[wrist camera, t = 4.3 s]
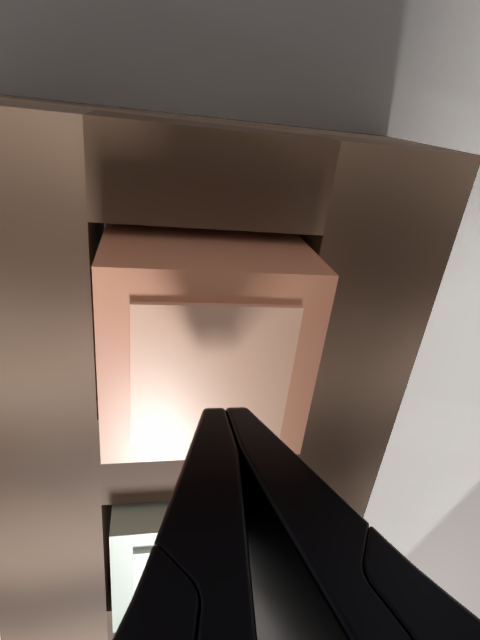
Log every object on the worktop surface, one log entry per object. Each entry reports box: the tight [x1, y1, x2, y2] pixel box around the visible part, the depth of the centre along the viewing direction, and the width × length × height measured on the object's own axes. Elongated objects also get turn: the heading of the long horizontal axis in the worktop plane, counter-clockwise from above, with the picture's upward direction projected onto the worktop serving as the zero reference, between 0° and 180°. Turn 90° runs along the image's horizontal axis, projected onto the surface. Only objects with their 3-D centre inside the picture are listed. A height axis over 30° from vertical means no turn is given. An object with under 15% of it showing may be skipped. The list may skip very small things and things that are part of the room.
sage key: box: [109, 501, 169, 633], centre depth 16 cm, size 5×5×4 cm
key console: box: [0, 95, 480, 640], centre depth 16 cm, size 19×13×5 cm
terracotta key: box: [92, 223, 339, 464], centre depth 11 cm, size 5×5×4 cm
